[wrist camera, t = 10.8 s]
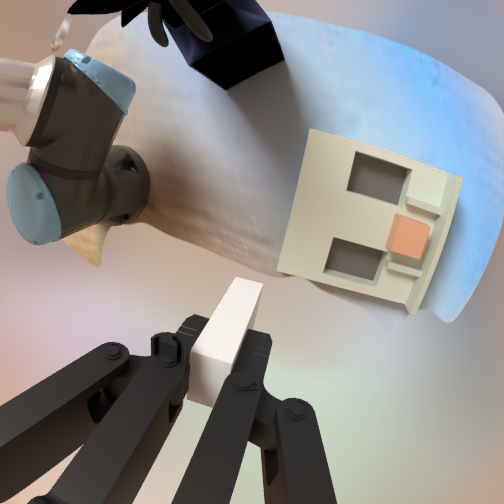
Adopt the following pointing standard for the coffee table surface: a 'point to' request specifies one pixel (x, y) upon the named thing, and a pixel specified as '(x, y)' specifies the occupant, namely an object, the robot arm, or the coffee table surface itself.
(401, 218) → the block
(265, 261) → the coffee table surface
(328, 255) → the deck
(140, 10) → the vase
